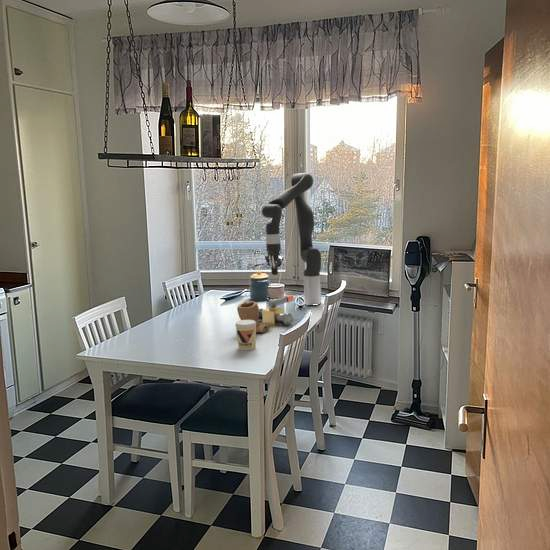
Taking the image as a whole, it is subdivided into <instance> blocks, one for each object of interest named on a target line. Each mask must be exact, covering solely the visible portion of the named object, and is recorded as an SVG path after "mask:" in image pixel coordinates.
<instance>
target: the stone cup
mask: <svg viewBox="0 0 550 550" xmlns="http://www.w3.org/2000/svg"><path fill="white" fill-rule="evenodd" d="M259 308H260V307H259V304H258V303H257V301H253V300H250V301H249V302H247V301H244V302H242V303H240V304H238V305H237V314H238V318H239V319H240V320H254V321H255V322H256V333H266V332H267V331H269V330H270V329H271V327H272V325H270V324H263V323H261V322H259V320H258V317H259Z"/></svg>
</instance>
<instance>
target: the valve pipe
mask: <svg viewBox="0 0 550 550" xmlns="http://www.w3.org/2000/svg"><path fill="white" fill-rule="evenodd" d="M258 322H259V323H262V324H270V325H271V326H280V327H283V326H288V327H289V326H290V325H292V322H293V315H292V314H291V313H290V312H286V313H285V308H282V307H279V306H276V307H269V306H268V307H267V308H260V307H259V317H258Z"/></svg>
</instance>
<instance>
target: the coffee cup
mask: <svg viewBox="0 0 550 550" xmlns="http://www.w3.org/2000/svg"><path fill="white" fill-rule="evenodd" d="M235 329H236V330H235V331H236V339H237V347H238V350H240V351H252V350H255V349H256V347H257V345H256V344H257V342H256V341H257V332H256V322H255V321H254V320H241V319H240V320H237V321H236V322H235Z"/></svg>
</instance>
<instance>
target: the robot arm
mask: <svg viewBox="0 0 550 550" xmlns="http://www.w3.org/2000/svg"><path fill="white" fill-rule="evenodd" d="M290 183H291V187H290V188H287V189H286V190H284V191H282V192H280V194H279V195H278V196H277V197H275V198H274V199H272V200H271V201H269V202H267V203H266V204H264V205H263V206H262V208H261V214H262V216H263V217H264V218H267V219H271V222H267V223H266V225H265V234H266V235H265V244H266V245H265V246H266V247H265V248H266V252H267V255H266V256H264V259H265V261H266V263H267V266H268V267H269V268H270V269H271V270H270V271H271V275H273V276H277V275H279V274H278V273H279V272H278V271H279V268H280V267H281V266H282V263H283V261H284V257H281V253H280V252H281V251H282V249H281V247H282V246H281V235H280V224H281V219H282V215H283V210H285V208H286V207H288V206H289V204H291V202H293V201H294V202H295V203H294V204H295V209H296V217H297V218H296V219H297V225H298V226H297V227H298V234H299V242H300V243H299V245H300V248H299V249H300V258H301V261H303V262H304V263H306V268H305V269H304V270H303V289H304V290H303V293H304V294H303V297H304V305H305V304H306V305H305V306H307V305H313V304H320V303H321V304H322V287H321V274H320V273H321V271H322V270H321V268H322V255H321V254H322V253H321V251H320V250H319V249H318V248H315V247H314V245H313V239H312V238H313V232H314V227H315V217H314V213H313V210H312V208H311V206H310V205H309V203H308V202H307V201H306V199H305V195H304V193H305V192H306V191H309V190H310V189H311V188H312V187H313V184H314V178H313V176H312V174H310V173H308V172H302V173H301V172H300V173H294V174H292V176H291V181H290ZM321 304H320V305H321Z"/></svg>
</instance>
